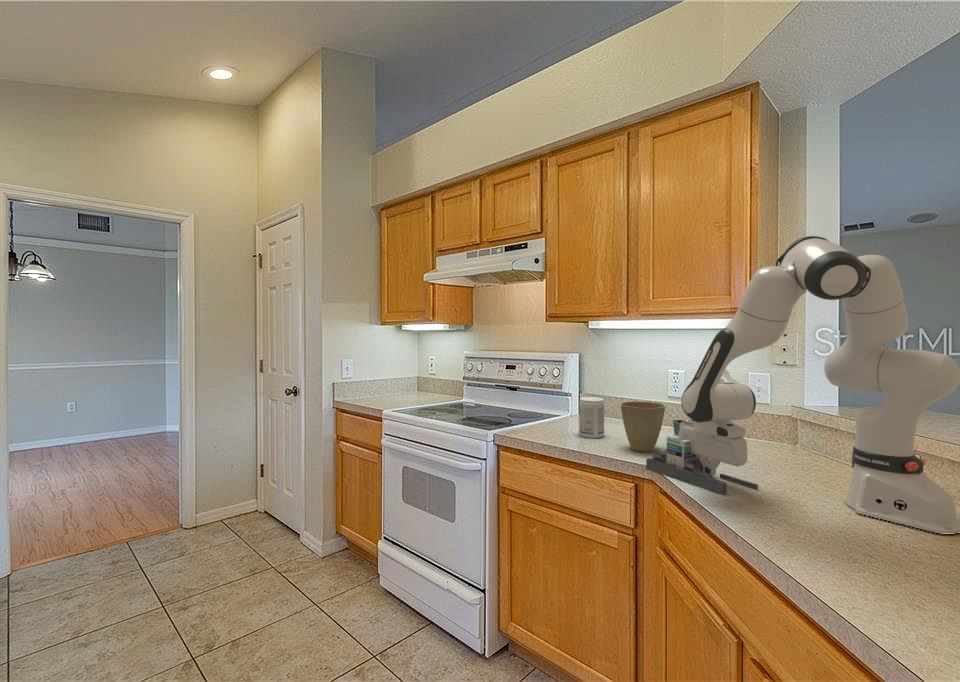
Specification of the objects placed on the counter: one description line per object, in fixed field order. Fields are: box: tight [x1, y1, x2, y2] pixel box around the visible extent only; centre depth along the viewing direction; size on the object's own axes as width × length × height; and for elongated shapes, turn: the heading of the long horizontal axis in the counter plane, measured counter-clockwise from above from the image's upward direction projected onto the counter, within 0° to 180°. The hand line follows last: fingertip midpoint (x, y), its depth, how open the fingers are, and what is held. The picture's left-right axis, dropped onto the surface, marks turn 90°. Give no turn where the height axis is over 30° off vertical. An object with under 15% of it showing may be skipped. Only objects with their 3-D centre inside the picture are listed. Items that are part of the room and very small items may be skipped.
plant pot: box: [620, 400, 666, 453], centre depth 175 cm, size 15×15×16 cm
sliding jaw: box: [684, 459, 715, 477], centre depth 144 cm, size 3×9×4 cm, turn 119°
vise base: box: [645, 449, 759, 496], centre depth 144 cm, size 28×13×5 cm, turn 29°
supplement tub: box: [578, 396, 605, 439], centre depth 195 cm, size 10×10×15 cm
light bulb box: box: [666, 435, 700, 469], centre depth 149 cm, size 11×7×11 cm, turn 118°
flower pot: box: [672, 419, 693, 436], centre depth 179 cm, size 9×9×9 cm
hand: (709, 473), depth 141 cm, fingers closed
